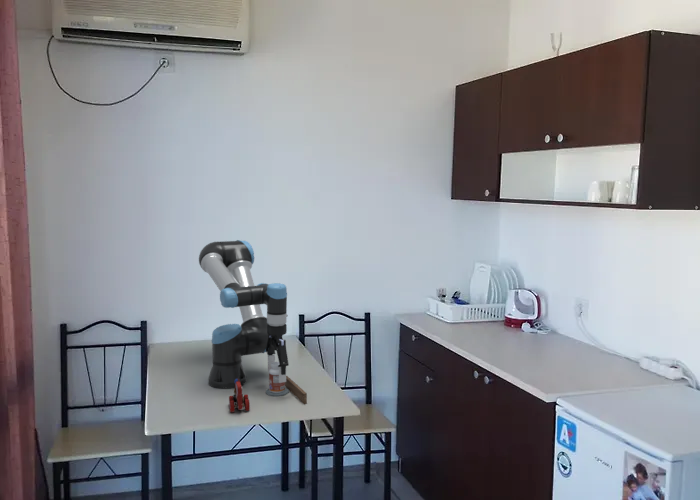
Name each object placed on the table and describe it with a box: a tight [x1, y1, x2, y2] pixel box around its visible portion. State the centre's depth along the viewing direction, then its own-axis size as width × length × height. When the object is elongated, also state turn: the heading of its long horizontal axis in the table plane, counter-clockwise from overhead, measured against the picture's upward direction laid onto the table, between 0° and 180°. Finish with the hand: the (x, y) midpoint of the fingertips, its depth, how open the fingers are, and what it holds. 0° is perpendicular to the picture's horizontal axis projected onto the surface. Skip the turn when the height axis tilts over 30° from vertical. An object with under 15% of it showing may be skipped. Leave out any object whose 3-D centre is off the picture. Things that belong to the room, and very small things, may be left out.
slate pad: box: [265, 387, 290, 397], centre depth 240 cm, size 9×9×1 cm
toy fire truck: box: [228, 379, 251, 413], centre depth 223 cm, size 7×12×10 cm, turn 14°
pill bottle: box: [268, 361, 286, 393], centre depth 240 cm, size 6×6×11 cm
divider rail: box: [285, 375, 308, 405], centre depth 238 cm, size 1×22×4 cm, turn 26°
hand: (276, 376), depth 240 cm, fingers open, 13 cm apart
